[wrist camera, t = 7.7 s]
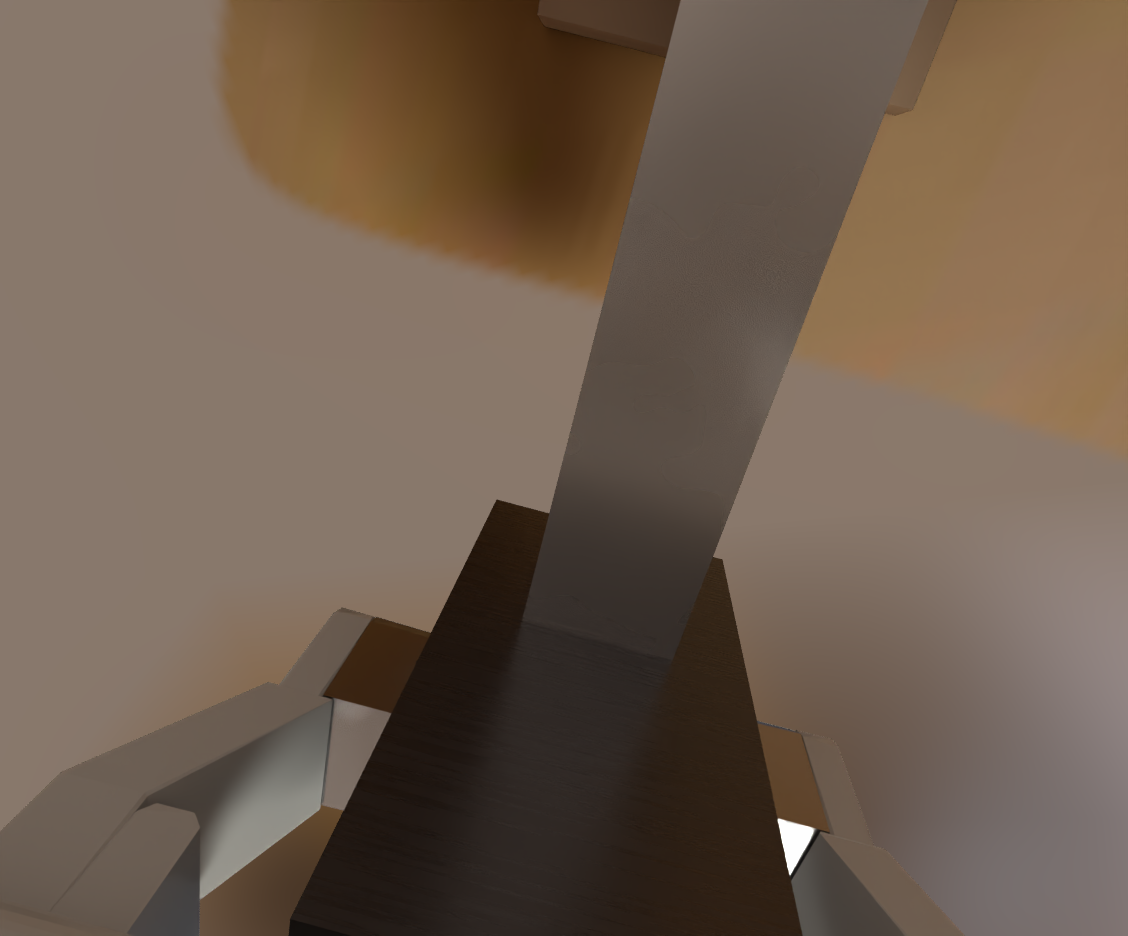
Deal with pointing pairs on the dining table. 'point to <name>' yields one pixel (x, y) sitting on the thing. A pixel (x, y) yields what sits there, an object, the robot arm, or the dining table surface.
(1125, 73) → the dining table surface
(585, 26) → the stand
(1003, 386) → the dining table surface
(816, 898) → the robot arm
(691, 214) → the shaft
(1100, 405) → the dining table surface
